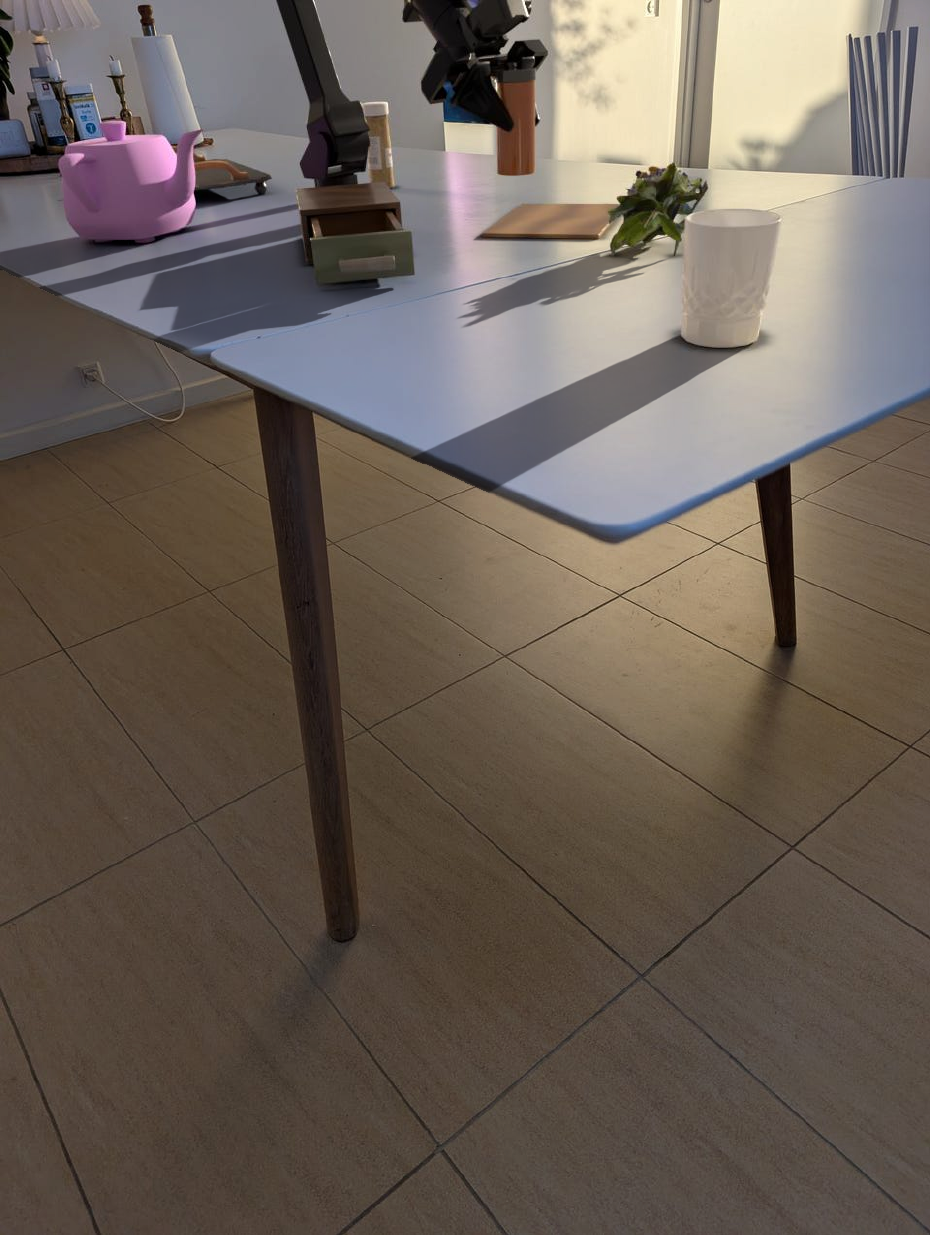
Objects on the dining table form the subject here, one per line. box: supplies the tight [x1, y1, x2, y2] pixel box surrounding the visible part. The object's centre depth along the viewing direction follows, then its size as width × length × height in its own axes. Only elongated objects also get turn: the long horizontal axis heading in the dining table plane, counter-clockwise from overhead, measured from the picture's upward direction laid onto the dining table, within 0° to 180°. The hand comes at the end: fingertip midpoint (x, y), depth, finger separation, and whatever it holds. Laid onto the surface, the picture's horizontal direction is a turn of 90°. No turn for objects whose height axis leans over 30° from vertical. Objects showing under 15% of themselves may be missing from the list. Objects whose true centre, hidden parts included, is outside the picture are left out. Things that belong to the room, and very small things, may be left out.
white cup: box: [680, 208, 783, 349], centre depth 77 cm, size 8×8×10 cm
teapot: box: [58, 120, 205, 244], centre depth 127 cm, size 23×21×15 cm
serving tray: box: [171, 145, 273, 196], centre depth 167 cm, size 39×23×6 cm, turn 28°
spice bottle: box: [493, 68, 537, 177], centre depth 109 cm, size 5×5×11 cm
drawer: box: [310, 209, 416, 285], centre depth 104 cm, size 21×11×5 cm, turn 11°
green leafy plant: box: [608, 161, 709, 257], centre depth 107 cm, size 11×11×12 cm
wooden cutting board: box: [481, 203, 620, 240], centre depth 127 cm, size 16×22×1 cm
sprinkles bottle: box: [361, 101, 395, 189], centre depth 156 cm, size 5×5×14 cm
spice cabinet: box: [295, 182, 403, 266], centre depth 118 cm, size 17×12×6 cm
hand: (524, 126), depth 108 cm, fingers closed on spice bottle, 5 cm apart
